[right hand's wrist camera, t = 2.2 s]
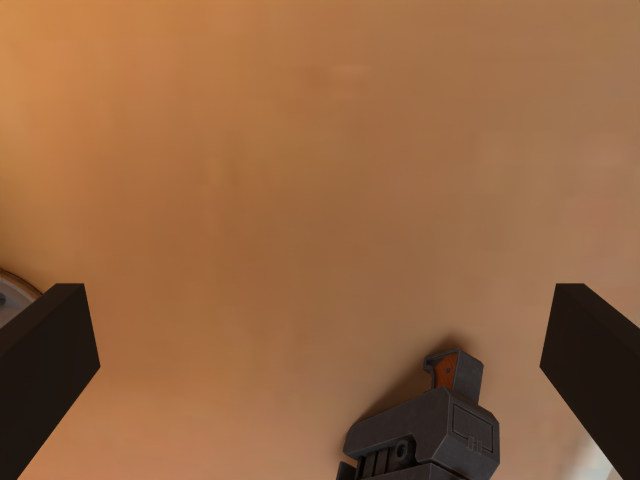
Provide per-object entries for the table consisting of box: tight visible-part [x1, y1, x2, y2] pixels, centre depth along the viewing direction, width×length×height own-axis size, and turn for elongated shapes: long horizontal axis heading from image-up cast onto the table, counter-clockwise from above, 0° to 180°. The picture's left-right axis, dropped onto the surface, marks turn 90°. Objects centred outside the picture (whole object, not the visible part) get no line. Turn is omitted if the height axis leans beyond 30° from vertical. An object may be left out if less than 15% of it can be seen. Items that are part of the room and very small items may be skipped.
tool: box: [336, 348, 500, 480], centre depth 44 cm, size 6×19×15 cm, turn 147°
